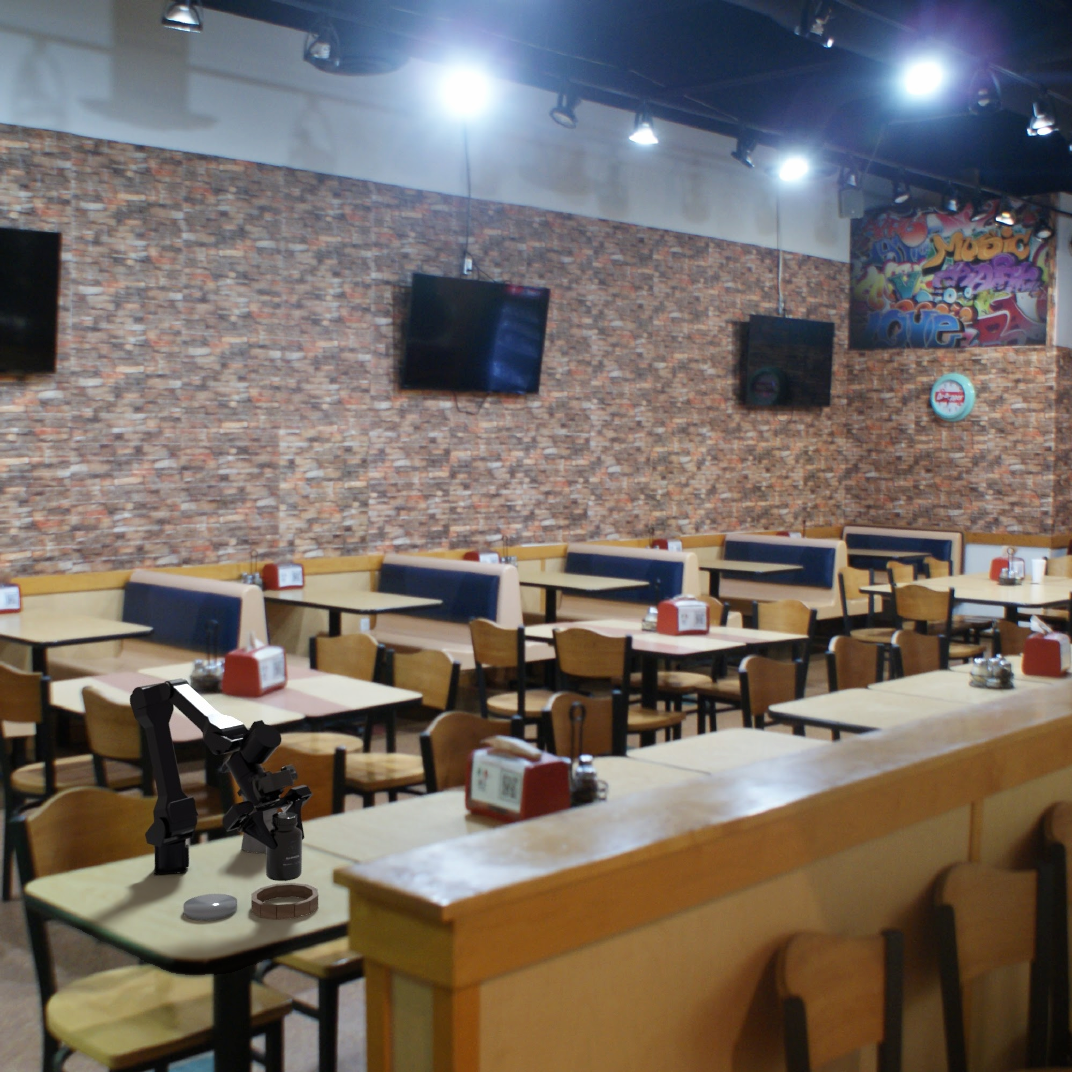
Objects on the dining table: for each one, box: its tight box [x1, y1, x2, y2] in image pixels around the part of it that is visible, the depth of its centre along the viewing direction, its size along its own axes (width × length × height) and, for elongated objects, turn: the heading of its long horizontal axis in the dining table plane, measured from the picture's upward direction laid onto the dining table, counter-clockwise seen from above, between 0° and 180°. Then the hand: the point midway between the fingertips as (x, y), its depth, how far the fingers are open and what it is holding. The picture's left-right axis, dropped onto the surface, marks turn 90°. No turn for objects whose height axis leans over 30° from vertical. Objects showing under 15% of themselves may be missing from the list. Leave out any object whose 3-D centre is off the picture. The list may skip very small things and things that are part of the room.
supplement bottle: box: [265, 811, 303, 882], centre depth 241 cm, size 7×7×12 cm
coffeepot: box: [241, 766, 281, 854], centre depth 279 cm, size 15×9×18 cm, turn 25°
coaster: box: [182, 893, 238, 921], centre depth 240 cm, size 10×10×2 cm
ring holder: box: [250, 882, 319, 920], centre depth 242 cm, size 13×13×2 cm
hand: (288, 843), depth 240 cm, fingers closed on supplement bottle, 7 cm apart
